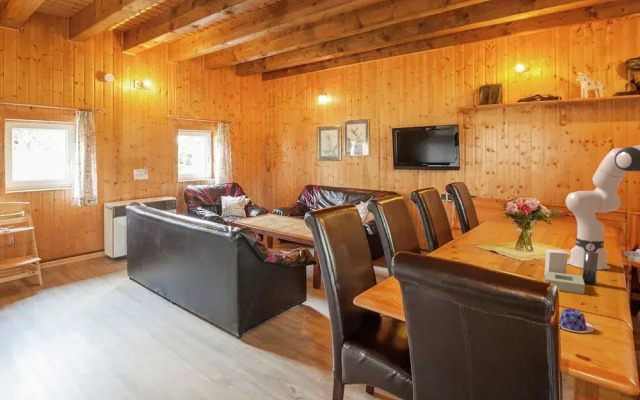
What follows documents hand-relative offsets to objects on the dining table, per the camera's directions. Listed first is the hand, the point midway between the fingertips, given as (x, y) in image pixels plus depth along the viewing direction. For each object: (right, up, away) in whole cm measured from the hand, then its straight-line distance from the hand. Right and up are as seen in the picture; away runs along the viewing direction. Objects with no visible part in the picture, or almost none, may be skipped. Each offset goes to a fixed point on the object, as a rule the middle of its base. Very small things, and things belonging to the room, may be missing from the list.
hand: (626, 255), depth 166 cm
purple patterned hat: (-46, -19, -36) cm, 61 cm away
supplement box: (-21, -13, +16) cm, 29 cm away
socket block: (-25, -14, +3) cm, 29 cm away
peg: (-11, -13, +8) cm, 19 cm away
